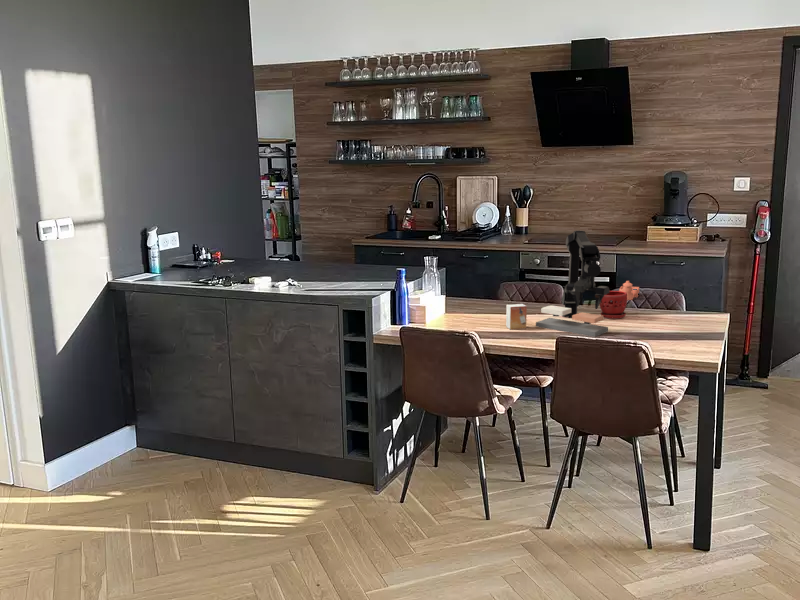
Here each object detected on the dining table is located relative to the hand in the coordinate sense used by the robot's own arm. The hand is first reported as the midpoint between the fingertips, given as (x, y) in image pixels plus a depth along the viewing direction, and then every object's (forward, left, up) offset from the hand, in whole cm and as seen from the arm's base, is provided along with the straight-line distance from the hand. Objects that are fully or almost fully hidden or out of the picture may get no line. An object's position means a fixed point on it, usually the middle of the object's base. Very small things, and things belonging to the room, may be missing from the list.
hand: (586, 307), depth 350 cm
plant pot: (-33, -4, -11) cm, 35 cm away
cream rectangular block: (0, -15, -6) cm, 16 cm away
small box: (+13, -28, -11) cm, 33 cm away
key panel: (0, -7, -11) cm, 13 cm away
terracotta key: (0, +1, -7) cm, 7 cm away
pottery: (-82, -20, -11) cm, 85 cm away
